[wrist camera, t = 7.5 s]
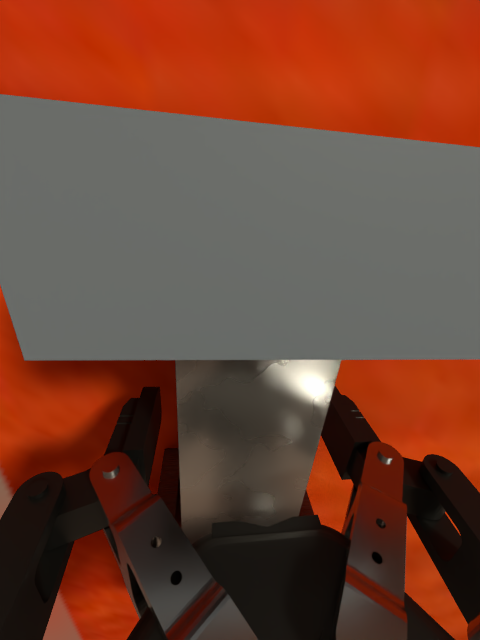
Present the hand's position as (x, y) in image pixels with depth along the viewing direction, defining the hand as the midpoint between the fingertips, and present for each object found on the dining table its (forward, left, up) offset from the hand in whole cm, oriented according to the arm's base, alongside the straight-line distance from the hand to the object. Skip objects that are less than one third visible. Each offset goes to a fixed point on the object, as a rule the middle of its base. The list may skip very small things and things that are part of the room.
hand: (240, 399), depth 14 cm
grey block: (+7, +5, -2) cm, 9 cm away
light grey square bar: (0, 0, -2) cm, 2 cm away
